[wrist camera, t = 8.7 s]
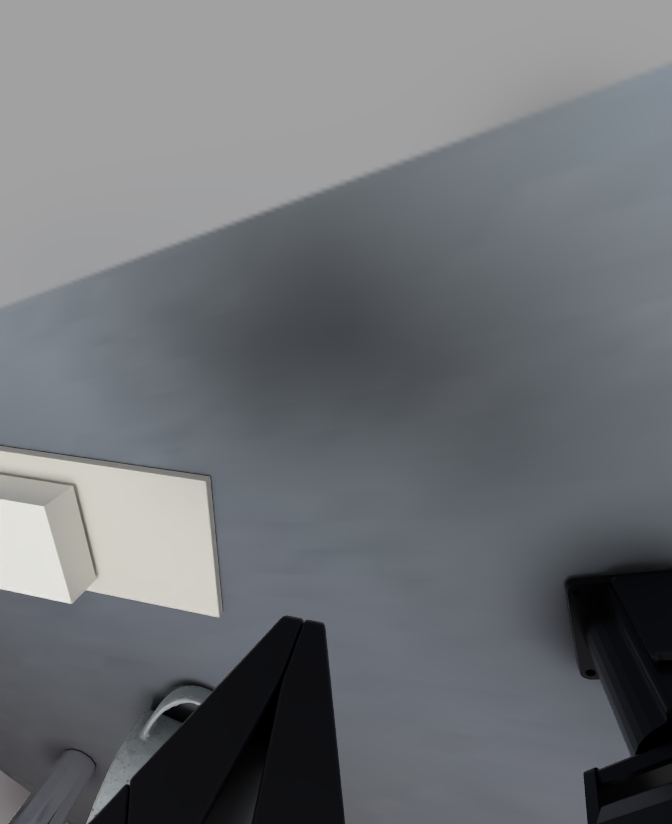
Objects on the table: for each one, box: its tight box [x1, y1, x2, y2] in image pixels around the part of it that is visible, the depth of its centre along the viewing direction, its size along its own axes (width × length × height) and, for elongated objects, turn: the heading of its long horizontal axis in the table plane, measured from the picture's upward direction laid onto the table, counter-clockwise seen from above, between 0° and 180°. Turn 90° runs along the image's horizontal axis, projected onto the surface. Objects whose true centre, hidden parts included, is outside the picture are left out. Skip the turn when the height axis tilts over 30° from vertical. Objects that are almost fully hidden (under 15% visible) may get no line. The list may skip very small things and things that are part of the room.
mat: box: [0, 446, 223, 617], centre depth 26 cm, size 20×10×1 cm, turn 88°
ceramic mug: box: [87, 685, 212, 824], centre depth 28 cm, size 11×8×8 cm
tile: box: [0, 474, 96, 604], centre depth 25 cm, size 2×7×9 cm
